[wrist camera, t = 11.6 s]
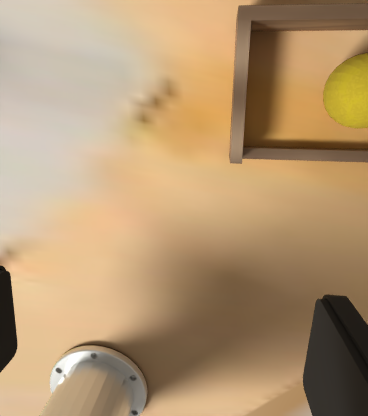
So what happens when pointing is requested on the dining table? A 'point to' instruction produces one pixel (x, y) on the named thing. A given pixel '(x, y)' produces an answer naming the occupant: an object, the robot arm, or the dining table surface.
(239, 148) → the box
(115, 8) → the dining table surface
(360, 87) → the lemon
